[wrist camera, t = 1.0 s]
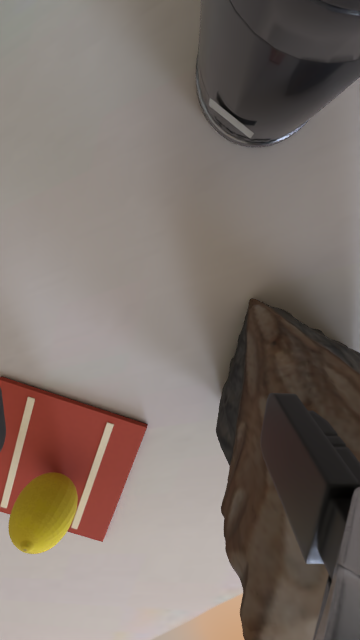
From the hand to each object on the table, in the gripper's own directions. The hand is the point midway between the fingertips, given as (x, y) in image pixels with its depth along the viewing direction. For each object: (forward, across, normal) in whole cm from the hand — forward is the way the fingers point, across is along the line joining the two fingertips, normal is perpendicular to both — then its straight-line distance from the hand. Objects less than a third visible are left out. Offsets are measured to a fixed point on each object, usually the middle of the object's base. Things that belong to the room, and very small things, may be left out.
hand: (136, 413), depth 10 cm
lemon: (+20, +9, +22) cm, 30 cm away
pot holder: (+20, +9, +20) cm, 30 cm away
